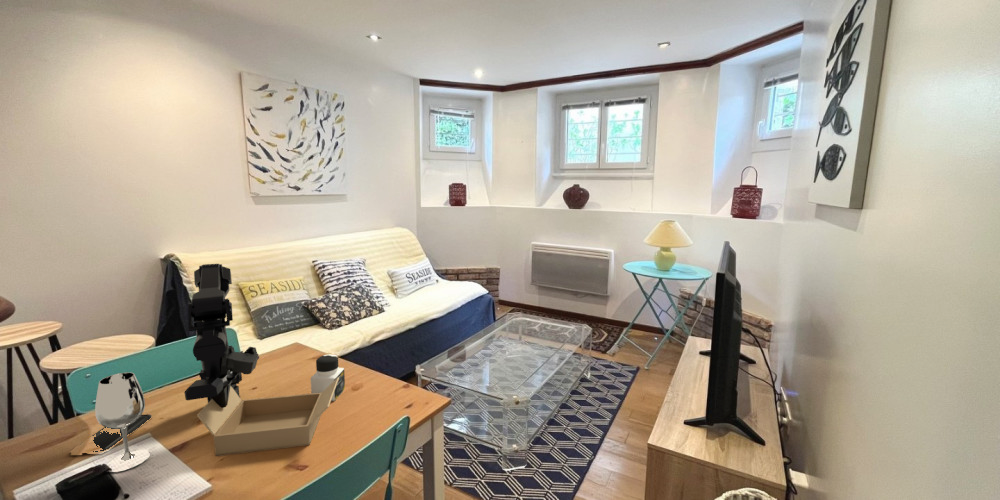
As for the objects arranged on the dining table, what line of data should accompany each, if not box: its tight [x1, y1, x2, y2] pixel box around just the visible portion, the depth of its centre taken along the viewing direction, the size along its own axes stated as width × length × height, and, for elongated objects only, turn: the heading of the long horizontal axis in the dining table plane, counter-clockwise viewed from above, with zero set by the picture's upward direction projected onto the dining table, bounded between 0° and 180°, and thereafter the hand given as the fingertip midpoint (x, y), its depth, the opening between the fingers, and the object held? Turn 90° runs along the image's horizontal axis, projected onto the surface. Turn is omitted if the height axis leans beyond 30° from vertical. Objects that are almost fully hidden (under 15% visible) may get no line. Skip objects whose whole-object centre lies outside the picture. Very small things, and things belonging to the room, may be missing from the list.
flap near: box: [196, 386, 242, 436], centre depth 95 cm, size 6×15×1 cm
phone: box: [91, 413, 152, 452], centre depth 96 cm, size 8×1×15 cm
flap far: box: [309, 377, 339, 425], centre depth 101 cm, size 6×15×1 cm
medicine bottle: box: [310, 353, 346, 402], centre depth 116 cm, size 7×7×12 cm
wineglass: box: [94, 371, 146, 461], centre depth 86 cm, size 8×8×20 cm
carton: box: [213, 393, 322, 457], centre depth 99 cm, size 20×16×5 cm
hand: (224, 406), depth 96 cm, fingers closed, pressing on flap near
